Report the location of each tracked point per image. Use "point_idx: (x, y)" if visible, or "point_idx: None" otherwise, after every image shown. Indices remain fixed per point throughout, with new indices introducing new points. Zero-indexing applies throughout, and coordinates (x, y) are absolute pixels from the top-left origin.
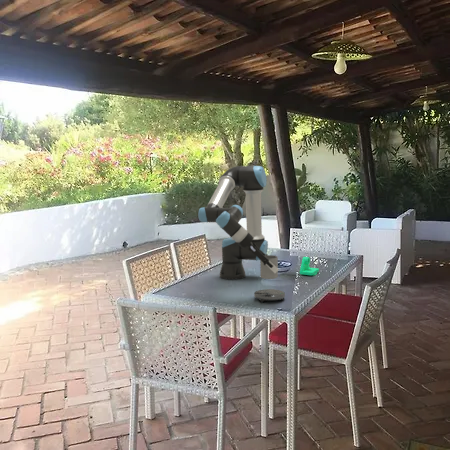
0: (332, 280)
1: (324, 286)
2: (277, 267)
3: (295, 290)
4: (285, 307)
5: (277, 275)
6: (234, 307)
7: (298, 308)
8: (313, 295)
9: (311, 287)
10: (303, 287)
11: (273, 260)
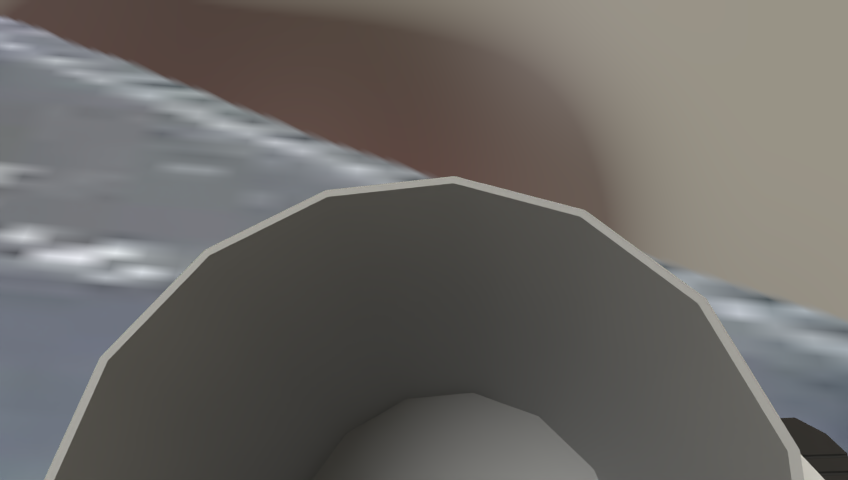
0: (6, 19)
1: (136, 70)
2: (484, 328)
3: (179, 273)
4: None
5: (488, 390)
6: None
7: (774, 298)
8: (364, 154)
9: (130, 149)
10: (107, 204)
11: (691, 348)
